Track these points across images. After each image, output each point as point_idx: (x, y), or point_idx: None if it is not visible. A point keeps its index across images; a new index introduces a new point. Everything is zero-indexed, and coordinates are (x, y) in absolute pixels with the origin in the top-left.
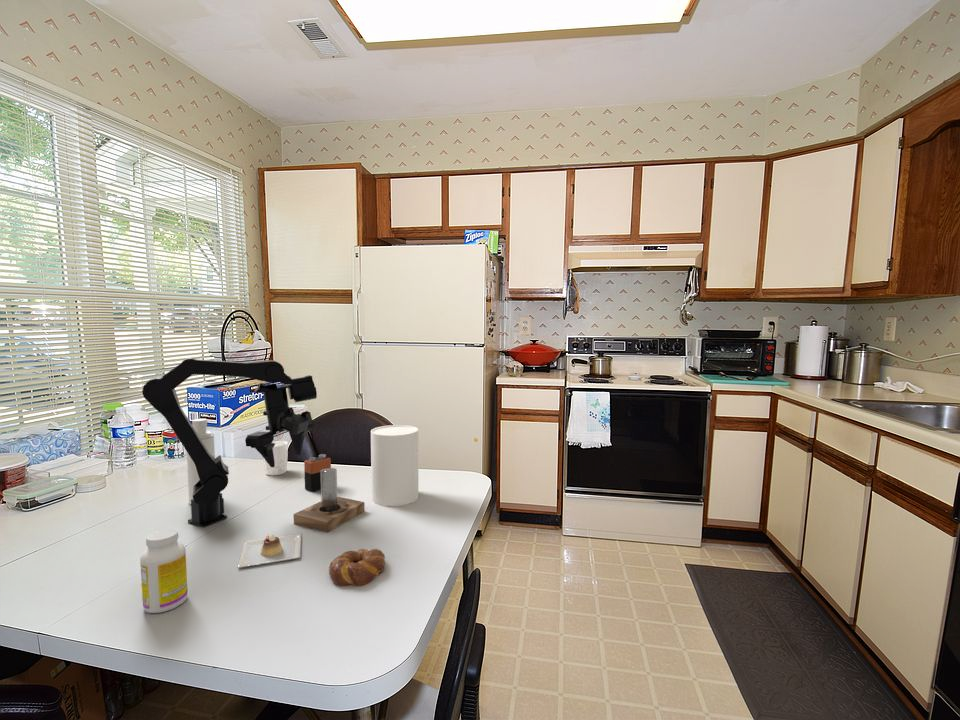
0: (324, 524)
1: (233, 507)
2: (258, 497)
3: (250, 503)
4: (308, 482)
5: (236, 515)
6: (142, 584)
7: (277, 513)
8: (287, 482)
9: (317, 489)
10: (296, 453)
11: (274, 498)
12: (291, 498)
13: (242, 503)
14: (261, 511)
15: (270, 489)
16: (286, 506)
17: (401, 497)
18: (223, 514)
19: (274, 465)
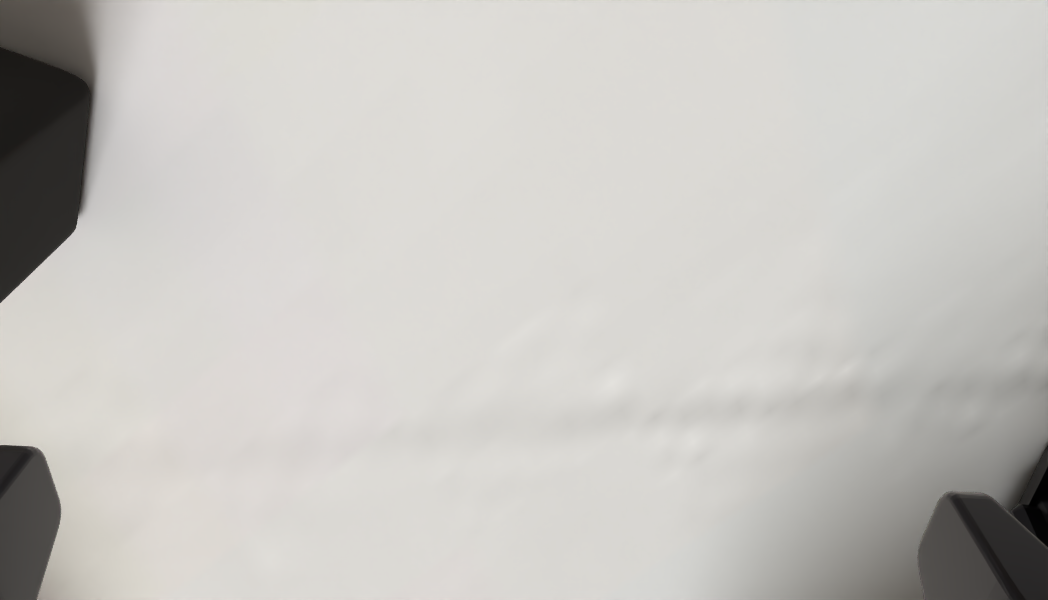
0: None
1: (787, 538)
2: (494, 501)
3: (652, 471)
4: (31, 197)
5: (975, 395)
6: None
7: (835, 10)
8: None
9: (7, 51)
10: (46, 551)
11: (450, 353)
12: (368, 183)
13: (676, 531)
14: (819, 236)
15: (281, 529)
16: (599, 64)
17: None
18: (1035, 494)
19: (969, 512)
